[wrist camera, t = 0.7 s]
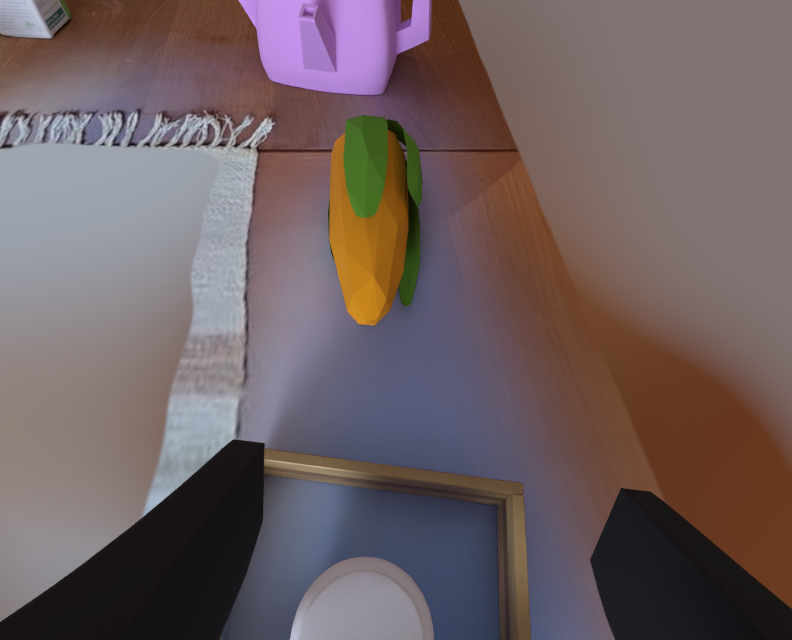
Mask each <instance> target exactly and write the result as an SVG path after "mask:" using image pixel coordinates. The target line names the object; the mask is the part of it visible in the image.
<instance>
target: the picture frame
mask: <svg viewBox="0 0 792 640" xmlns="http://www.w3.org/2000/svg"><path fill="white" fill-rule="evenodd" d="M266 475H273V476H280V477H288V478H295V479H302V480H310V481H317V482H325V483H332V484H340V485H347V486H354V487H362V488H369V489H377V490H384V491H392V492H399V493H406V494H414V495H421V496H429V497H436V498H444V499H451V500H458V501H466V502H473V503H481V504H488V505H496V506H498V507H497V511H498V568H499V625H500V640H531V629H530V609H529V589H528V570H527V550H526V530H525V510H524V496H523V494H524V490H523V483H520V482H512V481H505V480H497V479H490V478H482V477H475V476H467V475H460V474H452V473H445V472H437V471H430V470H423V469H415V468H408V467H400V466H393V465H385V464H378V463H370V462H363V461H355V460H348V459H340V458H333V457H325V456H318V455H310V454H303V453H295V452H288V451H280V450H273V449H266V448H264V480H265V476H266ZM222 631H223V630H222ZM221 635H222V632H221ZM221 635H220V637H219V639H218V640H220V639H221Z"/></svg>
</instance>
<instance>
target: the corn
mask: <svg viewBox="0 0 792 640" xmlns="http://www.w3.org/2000/svg"><path fill="white" fill-rule="evenodd" d="M398 140H399V141H400V142H402V143H403V144H404V145H405V146H407V161H406V159H405V154H404V152H403V150H402V148H401V145H400V143H399V141H398ZM422 184H423V181H422V172H421V163H420V155H419V150H418V148H417V145H416V143H415V141H414V140H413V139H412V138H411V137H410V135H409V134H408V133H407V132H406V131H405V130H404V129H403V128H402V126H401V125H400V124H399V123H398V122H397V121H393V120H387V121H386V119H385V118H383V117H374V116H365V115H362V116H359V117H355V118H352V119H349V120H346V130H345V133H344V134H343V135H342V136H341V137H339V138H338V139H337V140H336V141H335V144H334V148H333V151H332V156H331V171H330V201H329V211H328V221H329V241H330V247H331V253H332V256H333V259H334V261H335V264H336V268H337V272H338V276H339V280H340V284H341V288H342V292H343V296H344V300H345V304H346V308H347V311H348V312H349V314H350V315H351V316H352V317H353V318H354V319H355V320H356V321H357V322H358V324H362V325H376V324H377V323H378V322H379V321H380V320H381V319H382V318H383V317H384V316H385V315H386V314H387V313H388V312H389V311H390V309H391V306H392V303H393V301H394V298H395V295H396V292H397V289H398V286H399V294H400V299H401V302H402V304H403V305H404V306H405V307H406V306H409V305H410V304H411V302H412V299H413V295H414V291H415V287H416V282H417V276H418V270H419V264H420V221H419V212H418V207H419V205H420V202H421V199H422Z"/></svg>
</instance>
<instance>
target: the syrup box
mask: <svg viewBox="0 0 792 640" xmlns="http://www.w3.org/2000/svg"><path fill="white" fill-rule="evenodd" d="M70 18H71V13H70V11H69V9H68V8H67V6H66V4H65V2H64V0H0V33H1V34H2V35H7V36H15V37H28V38H53V37H54V34H55V33H56V32H57V31H58V30H59V29H60V28H61V27H62V26H63V25H64V24H65V23H66V22H67V21H68V20H69V19H70Z"/></svg>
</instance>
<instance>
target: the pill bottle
mask: <svg viewBox="0 0 792 640" xmlns="http://www.w3.org/2000/svg"><path fill="white" fill-rule="evenodd" d="M290 640H434V631H433V623H432V618H431V614H430V611H429V607H428V605H427V602H426V600H425V598H424V596H423V594H422V592H421V590H420V589H419V587H418V586H417V584H416V583H415V582H414V581H413V579H412V578H411V577H410V576H409V575H408V574H407V573H406V572H405V571H403V570H402V569H401V568H400V567H398V566H396V565H394V564H393V563H391V562H389V561H386V560H383V559H380V558H375V557H355V558H350V559H347V560H344V561H341V562H339V563H337V564H335V565H333V566H331V567H330V568H328V569H327V570H326V571H325V572H323V573H322V574H321V575H320V576H319V577H318V578H317V579H316V580H315V581H314V582H313V583H312V585H311V586H310V587H309V589H308V590H307V592H306V593H305V595H304V597H303V599H302V601H301V602H300V604H299V607H298V609H297V612H296V615H295V618H294V622H293V626H292V631H291V636H290Z"/></svg>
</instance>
